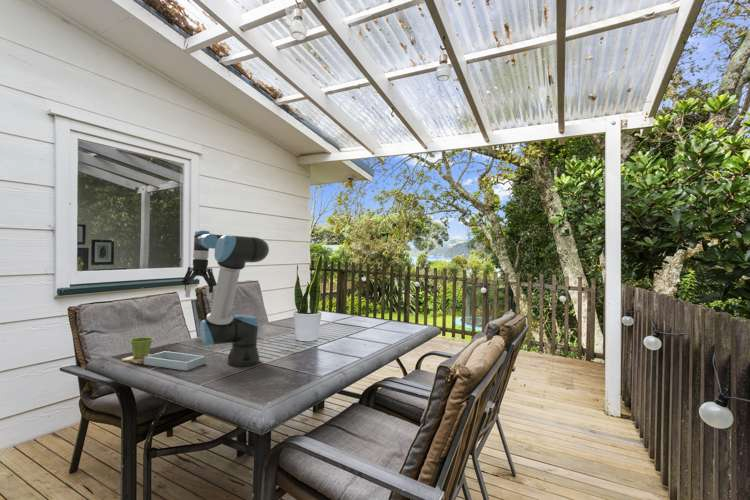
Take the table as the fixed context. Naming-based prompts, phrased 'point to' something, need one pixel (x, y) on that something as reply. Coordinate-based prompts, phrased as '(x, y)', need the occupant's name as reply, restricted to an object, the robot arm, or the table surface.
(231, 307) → the robot arm
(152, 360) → the pale blue tray
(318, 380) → the table surface
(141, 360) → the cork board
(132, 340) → the plant pot
